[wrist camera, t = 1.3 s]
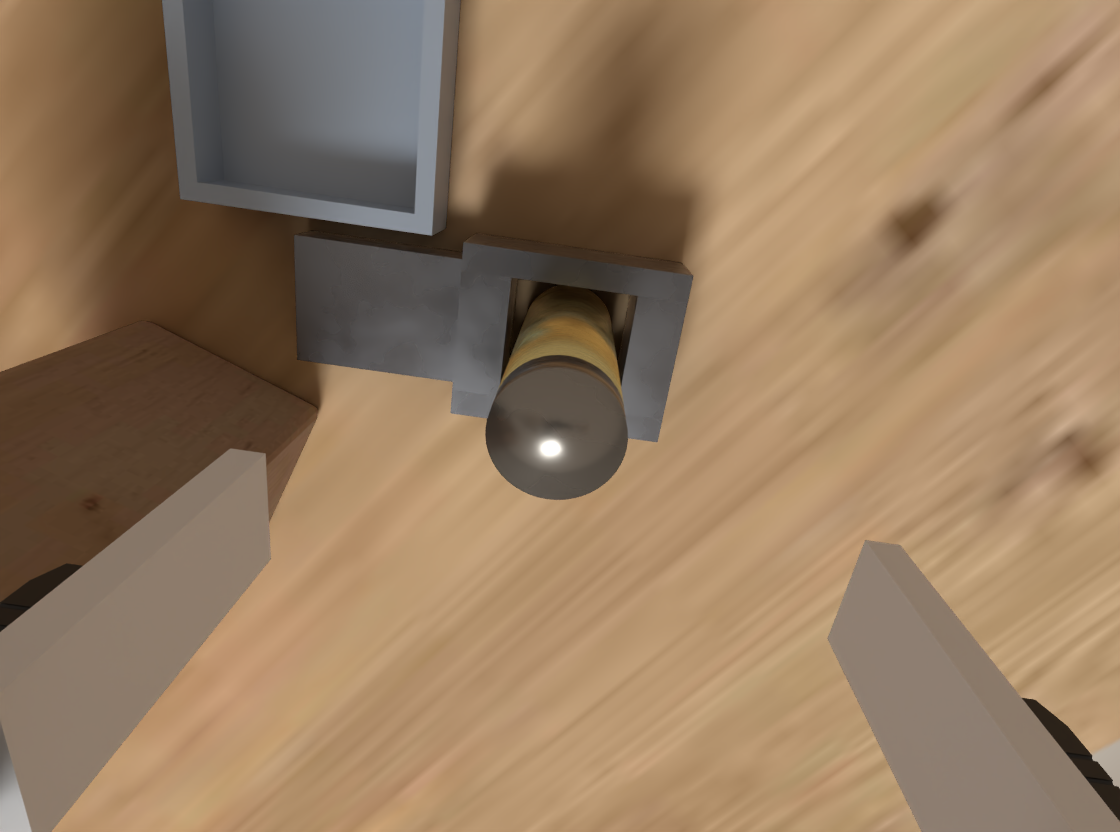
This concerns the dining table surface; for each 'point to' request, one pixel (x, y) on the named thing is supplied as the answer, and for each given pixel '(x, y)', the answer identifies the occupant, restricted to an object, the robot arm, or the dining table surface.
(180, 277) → the dining table surface
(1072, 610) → the dining table surface
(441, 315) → the bar
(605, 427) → the pin
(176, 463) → the wooden block
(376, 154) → the tray
